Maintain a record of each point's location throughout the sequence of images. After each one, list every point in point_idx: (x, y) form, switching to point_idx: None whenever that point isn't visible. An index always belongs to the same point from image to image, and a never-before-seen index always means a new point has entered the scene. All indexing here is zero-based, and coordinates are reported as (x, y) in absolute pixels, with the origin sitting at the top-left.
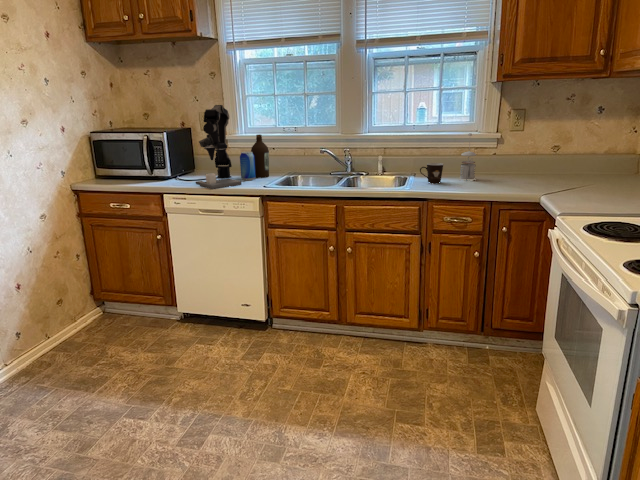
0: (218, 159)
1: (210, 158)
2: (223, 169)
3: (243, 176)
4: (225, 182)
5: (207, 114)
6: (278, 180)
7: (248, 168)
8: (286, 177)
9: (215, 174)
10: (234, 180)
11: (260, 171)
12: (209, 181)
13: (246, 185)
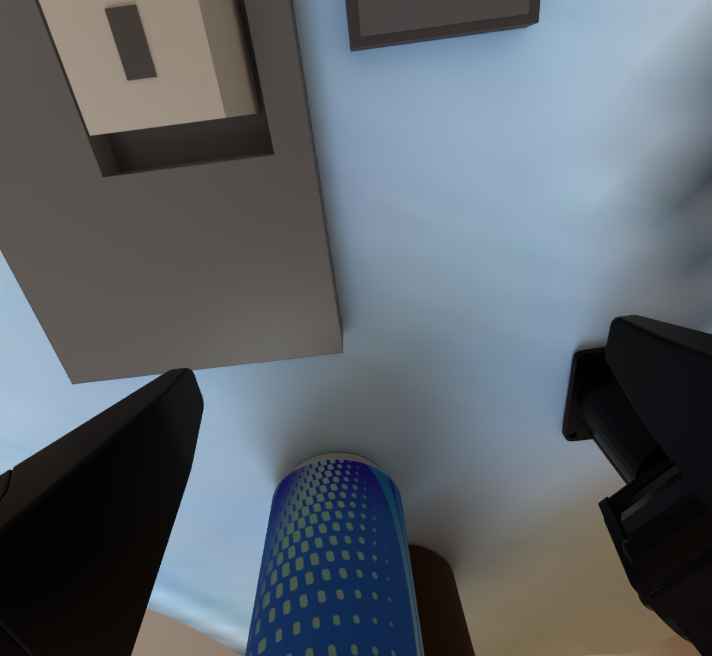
0: (155, 391)
1: (674, 326)
2: (639, 435)
3: (306, 478)
4: (60, 220)
5: None
6: (162, 599)
7: (258, 585)
8: None
9: (94, 131)
10: (161, 351)
11: None
12: None
13: (38, 384)
